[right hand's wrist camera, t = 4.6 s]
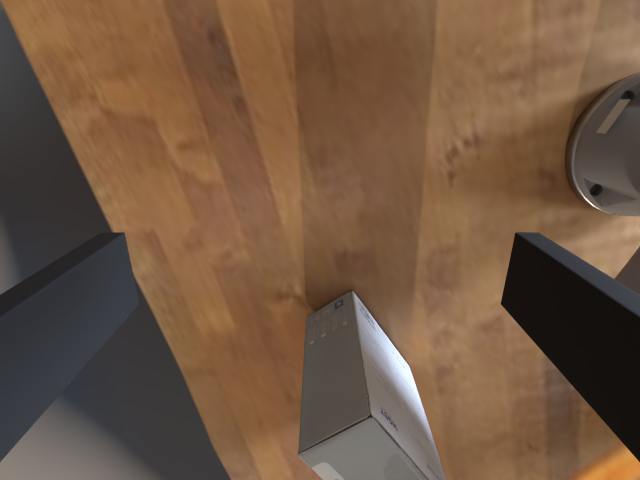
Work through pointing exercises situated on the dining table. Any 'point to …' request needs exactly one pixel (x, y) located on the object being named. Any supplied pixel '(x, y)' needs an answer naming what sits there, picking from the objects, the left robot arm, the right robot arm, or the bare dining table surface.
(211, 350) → the dining table surface
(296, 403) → the dining table surface
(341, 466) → the hard drive box
